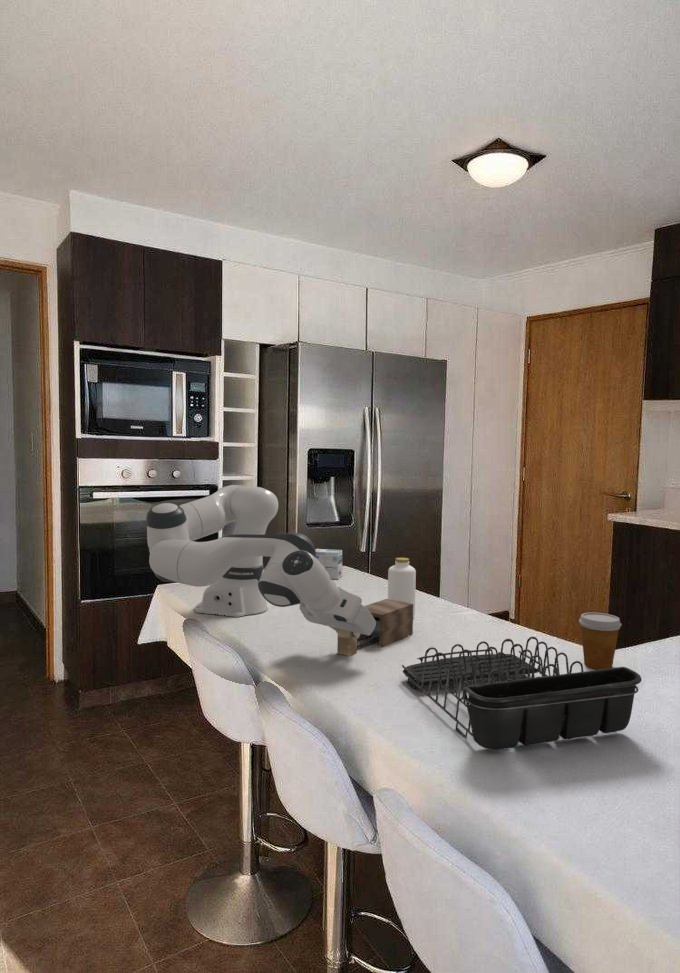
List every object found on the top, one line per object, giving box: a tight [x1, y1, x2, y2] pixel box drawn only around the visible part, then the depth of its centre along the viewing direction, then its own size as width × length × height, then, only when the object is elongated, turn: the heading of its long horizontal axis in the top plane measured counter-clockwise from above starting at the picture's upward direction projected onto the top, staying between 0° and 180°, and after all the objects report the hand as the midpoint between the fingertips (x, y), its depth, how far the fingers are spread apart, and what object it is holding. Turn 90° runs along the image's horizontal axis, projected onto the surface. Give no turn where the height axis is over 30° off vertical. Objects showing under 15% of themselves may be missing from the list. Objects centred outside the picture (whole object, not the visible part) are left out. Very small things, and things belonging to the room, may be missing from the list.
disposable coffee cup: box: [578, 612, 622, 670], centre depth 161 cm, size 10×10×12 cm
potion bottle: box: [387, 557, 417, 618], centre depth 203 cm, size 8×8×18 cm
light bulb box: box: [315, 548, 343, 580], centre depth 261 cm, size 11×7×11 cm, turn 77°
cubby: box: [357, 598, 414, 648], centre depth 182 cm, size 15×9×8 cm, turn 142°
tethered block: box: [336, 618, 380, 657], centre depth 175 cm, size 21×5×9 cm, turn 143°
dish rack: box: [401, 636, 642, 751], centre depth 136 cm, size 34×44×12 cm
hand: (349, 633), depth 169 cm, fingers closed on tethered block, 3 cm apart
